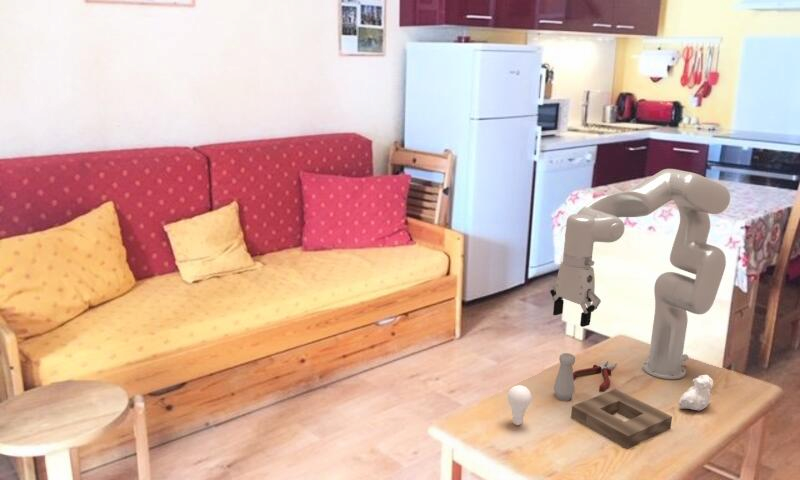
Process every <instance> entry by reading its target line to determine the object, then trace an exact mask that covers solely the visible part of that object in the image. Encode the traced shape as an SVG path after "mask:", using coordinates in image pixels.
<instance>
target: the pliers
mask: <svg viewBox="0 0 800 480" xmlns="http://www.w3.org/2000/svg"><path fill="white" fill-rule="evenodd" d="M608 363H609V360H607V361H605V362H603V363H601V364H600V365H597V364H593V365H592V367H588V368H582V369H578V370H575V371H573V379H574V381H575V380H577V378H580V377H586V376H587V377H588V376H592V375H597V374H601V375H602V378H603V382H601V384H599V388H598V392H600V393H602V392H604V393H605V391H606V390H608V389H609V388H610V387H611V386H610V385H611V380H610V377H612V370H613V369H614V368H615V367H616V366H617V365H618V363H613V364H609V365H608Z"/></svg>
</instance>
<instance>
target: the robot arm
mask: <svg viewBox="0 0 800 480" xmlns="http://www.w3.org/2000/svg"><path fill="white" fill-rule="evenodd" d="M670 201H671V202H672V201H673V202H674V203H675V205H676V206H677V210H678V212H679V218H680V219H679V225H678V228H677V231H676V235H675V238H674V241H673V243H672V247H671V251H670V255H669V262H670V263H671V265H672V266H673V267H674V268H677V269H679V270H681V271H684V272H687V273H690V274H693V275H695V278H692V277H690V276H688V275H684V274H682V273H678V272H673V271H666V272H664V273H661V274H659V276H657V279H655V283H654V288H653V289H654V290H653V291H654V302H655V303H654V316H653V324H652V332H651V338H650V339H651V340H650V348H649V355H648V359H646V360H644V361H643V363H642V369H643V371H644V372H645V373H647V374H649V375H651V376H653V377H656V378H659V379H664V380H680V379H682V378H684V377H685V376H686V373H687V372H686V371H687V370H686V369H685V367H684V366H683V365H682V364H683V363H684V362H685V361H688V360H689V355H688V354H687V353H684V347H685V342H686V336H687V335H686V334H687V328H688V323H689V322H688V314H687V313H688V312H689V313H692V314H695V315H704V314H706V313H708V312H709V311H710V309H711V308H712V307H713V305H714V302H715V300H716V297H717V295H718V291H719V288H720V286H721V282H722V279H723V276H724V272H725V270H726V265H727V260H726V254H725V253H724V251H723V250H722V249H721V248H719V247H717V246H715V245H712V244H709V243H707V242H708V237H709V233H710V229H711V220H710V216H709V215H710V214H711V215H718V214H721V213H723V212H725V210H727V208H728V207H729V205H730V201H731V194H730V191H729V189H728V188H727V187H726V186H724V185H723V184H721V183H718V182H716V181H713V180H712V179H710V178H708V177H705V176H703V175H702V174H698V173H695V172H691V171H685V170H681V169H677V168H665V169H662V170H660V171H659V172H657V173H655V174H654V175H652V176H651V177H648V178H647V179H645V180H644V181H642V182H641V183H639V184H638V185H636V186H635V187H633V188H631V189H628V190H622V191H619V192H615V193H611V194H607V195H604V196H601V197H597V198H596V199H594V200H592V201H591V202H589V203H588V204H586V205H585V206H583V207H582V208H580V210H579V211H578V212H576V213H574V214H570V215H569V216H568V217H567V219H566V223H565V224H566V225H565V233H564V234H565V235H564V243H563V244H564V245H563V254H562V255H563V256H562V261H561V262H560V264H559V265H560V266H559V269H558V273H557V279H556V280H555V281H551V282H549V283H548V286H549V290H550V291H549V293H550V295H551V297H552V298H551V299H552V301H553V311H552V312H553V313H552V315H553V316H559V315H562V314H563V312H564V311H563V310H564V303H565V301H564V300H566V301H569V302H572V303H573V304H577V305H580V307H581V309H582V312H581V313H580V323H579V325H580V327H582V328H584V327H588V326H590V325H591V324H590V323H591V318H592V313H593V312H595V310H596V309H598V307H599V305H600V304H601V302H602V301H601V299H600V298H599V297H598V296H597V294H596V293H595V290H596V289H595V288H596V287H595V283H596V282H595V280H596V279H595V278H596V277H595V271H594V267H593V266H594V265H595V261H594V260H593V252H594V243H596V242H597V243H614V242H616V241H618V240H619V239H621V238H622V237H623V235H624V233H625V224H624V222H623V220H622V219H621V218H639V217H646V216H649V215H650V214H652V213H654V212H655V211H657V210H658V209H659V208H662V207H663V206H664V205H666V204H667V203H669V202H670ZM563 299H564V300H563Z"/></svg>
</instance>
